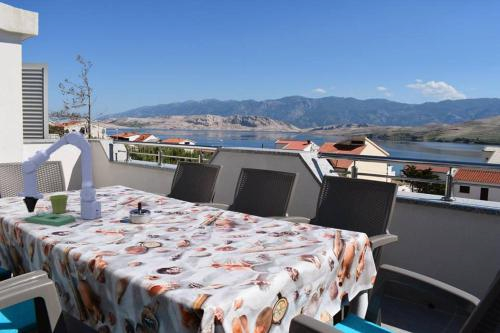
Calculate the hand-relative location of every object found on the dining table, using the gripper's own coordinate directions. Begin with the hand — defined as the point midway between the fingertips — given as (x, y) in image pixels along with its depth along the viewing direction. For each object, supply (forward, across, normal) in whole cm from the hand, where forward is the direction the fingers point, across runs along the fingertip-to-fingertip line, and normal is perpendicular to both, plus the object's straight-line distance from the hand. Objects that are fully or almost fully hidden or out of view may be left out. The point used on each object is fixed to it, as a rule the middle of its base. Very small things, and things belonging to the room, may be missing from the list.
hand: (31, 212), depth 195 cm
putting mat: (+3, +12, 0) cm, 13 cm away
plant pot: (+4, +1, +16) cm, 17 cm away
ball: (0, +6, 0) cm, 6 cm away
